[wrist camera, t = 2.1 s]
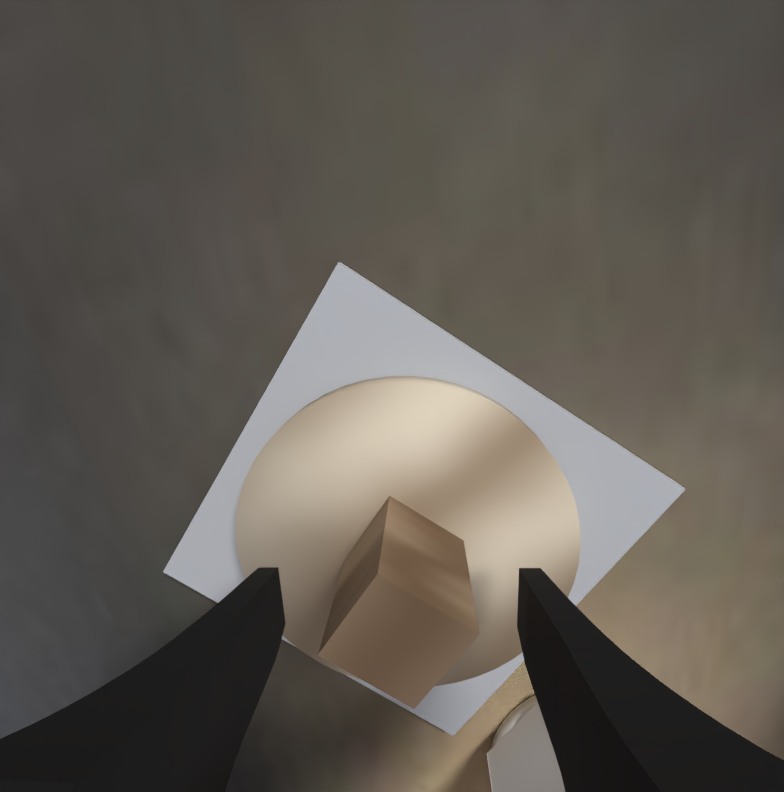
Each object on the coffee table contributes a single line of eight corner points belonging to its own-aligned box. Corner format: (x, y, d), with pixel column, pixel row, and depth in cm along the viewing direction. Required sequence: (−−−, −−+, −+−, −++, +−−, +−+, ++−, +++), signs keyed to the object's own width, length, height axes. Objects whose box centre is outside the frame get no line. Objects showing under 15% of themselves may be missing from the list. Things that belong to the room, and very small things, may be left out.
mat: (677, 482, 15) (685, 489, 14) (452, 724, 18) (453, 735, 18) (341, 262, 14) (338, 261, 13) (170, 564, 17) (163, 572, 17)
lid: (642, 494, 14) (753, 597, 10) (447, 710, 17) (458, 873, 12) (348, 306, 14) (308, 315, 9) (195, 568, 16) (101, 683, 12)
